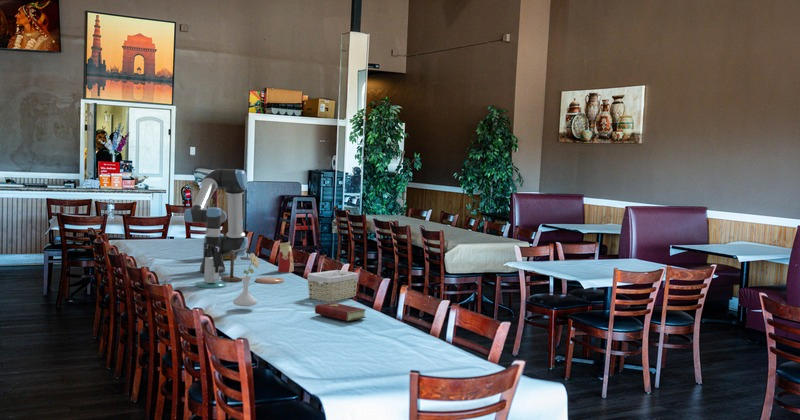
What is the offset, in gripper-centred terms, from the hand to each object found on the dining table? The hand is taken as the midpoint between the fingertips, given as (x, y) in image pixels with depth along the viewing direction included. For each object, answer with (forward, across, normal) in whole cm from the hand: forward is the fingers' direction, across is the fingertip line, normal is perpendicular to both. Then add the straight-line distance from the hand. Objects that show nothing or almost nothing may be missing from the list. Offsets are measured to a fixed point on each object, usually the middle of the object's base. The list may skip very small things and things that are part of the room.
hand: (211, 277), depth 390 cm
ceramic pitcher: (+5, -94, +55) cm, 109 cm away
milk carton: (+5, -27, +63) cm, 69 cm away
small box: (+3, 0, 0) cm, 3 cm away
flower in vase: (+5, +57, -10) cm, 58 cm away
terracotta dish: (+5, -1, +37) cm, 37 cm away
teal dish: (+5, 0, 0) cm, 5 cm away
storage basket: (+7, +55, +42) cm, 69 cm away
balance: (+5, -13, +19) cm, 23 cm away
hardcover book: (+5, +95, +17) cm, 96 cm away
